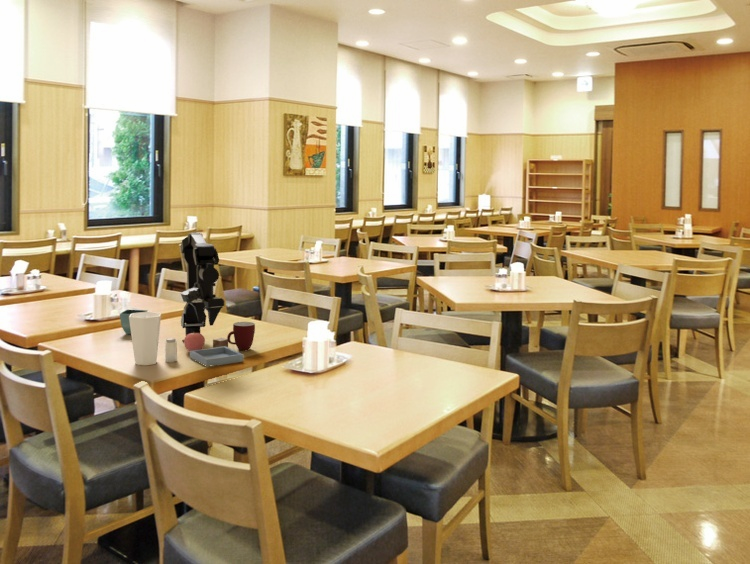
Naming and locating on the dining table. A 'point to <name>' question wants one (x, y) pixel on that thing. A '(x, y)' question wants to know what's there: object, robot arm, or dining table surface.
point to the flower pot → (125, 319)
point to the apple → (194, 341)
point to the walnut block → (220, 342)
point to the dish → (216, 356)
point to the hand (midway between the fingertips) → (205, 323)
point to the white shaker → (170, 350)
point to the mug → (242, 335)
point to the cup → (145, 336)
